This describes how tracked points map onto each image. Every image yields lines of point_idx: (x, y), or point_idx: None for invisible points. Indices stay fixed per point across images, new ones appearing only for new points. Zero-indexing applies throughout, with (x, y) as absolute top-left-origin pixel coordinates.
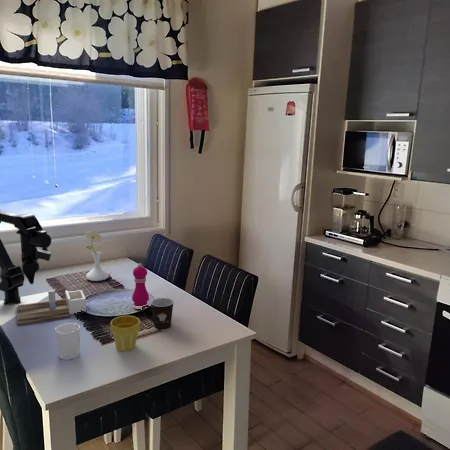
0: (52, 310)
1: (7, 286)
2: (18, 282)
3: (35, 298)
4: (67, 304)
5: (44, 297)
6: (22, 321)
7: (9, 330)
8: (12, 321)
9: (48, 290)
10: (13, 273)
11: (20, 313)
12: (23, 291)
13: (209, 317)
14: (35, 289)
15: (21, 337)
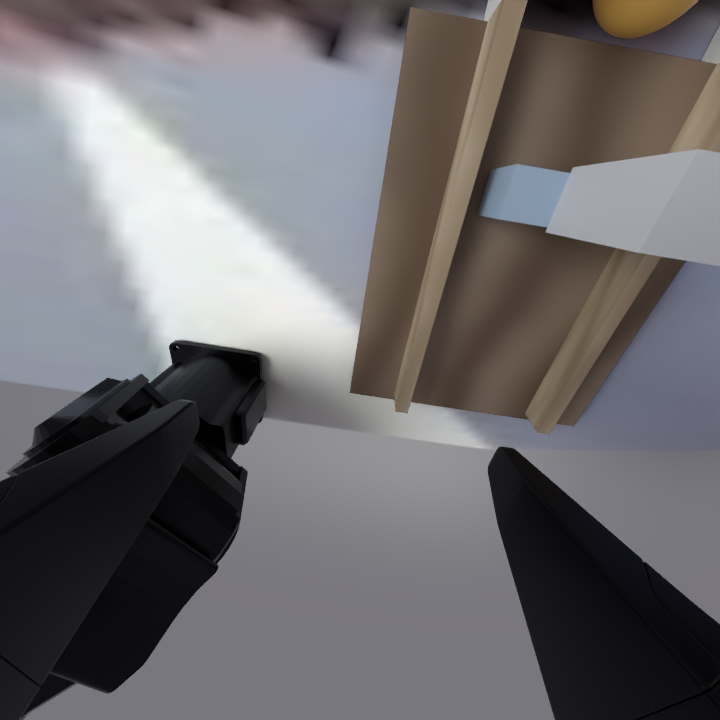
0: None
1: (241, 506)
2: (196, 457)
3: (211, 258)
4: (644, 27)
5: (208, 191)
6: (572, 404)
7: (585, 448)
8: (495, 424)
9: (654, 251)
10: (134, 585)
11: (456, 393)
12: (57, 301)
13: None
14: (14, 217)
15: (710, 426)
